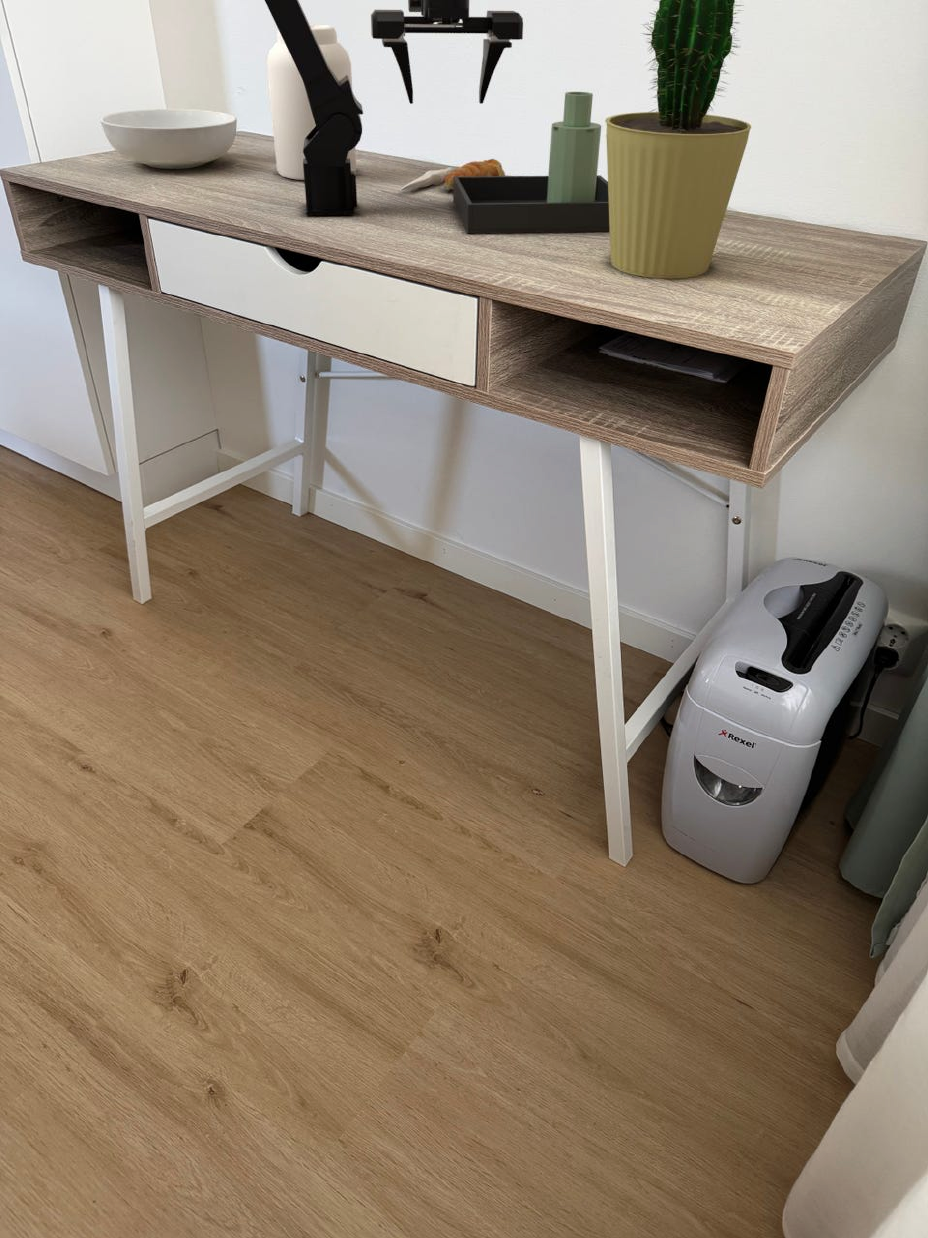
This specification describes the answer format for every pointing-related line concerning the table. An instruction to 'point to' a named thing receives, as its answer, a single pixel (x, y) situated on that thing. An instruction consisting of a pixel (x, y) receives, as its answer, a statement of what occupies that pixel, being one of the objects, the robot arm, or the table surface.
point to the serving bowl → (170, 136)
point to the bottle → (574, 152)
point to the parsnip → (428, 179)
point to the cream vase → (299, 99)
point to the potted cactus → (676, 149)
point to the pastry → (475, 171)
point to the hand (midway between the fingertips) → (446, 102)
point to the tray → (525, 206)
